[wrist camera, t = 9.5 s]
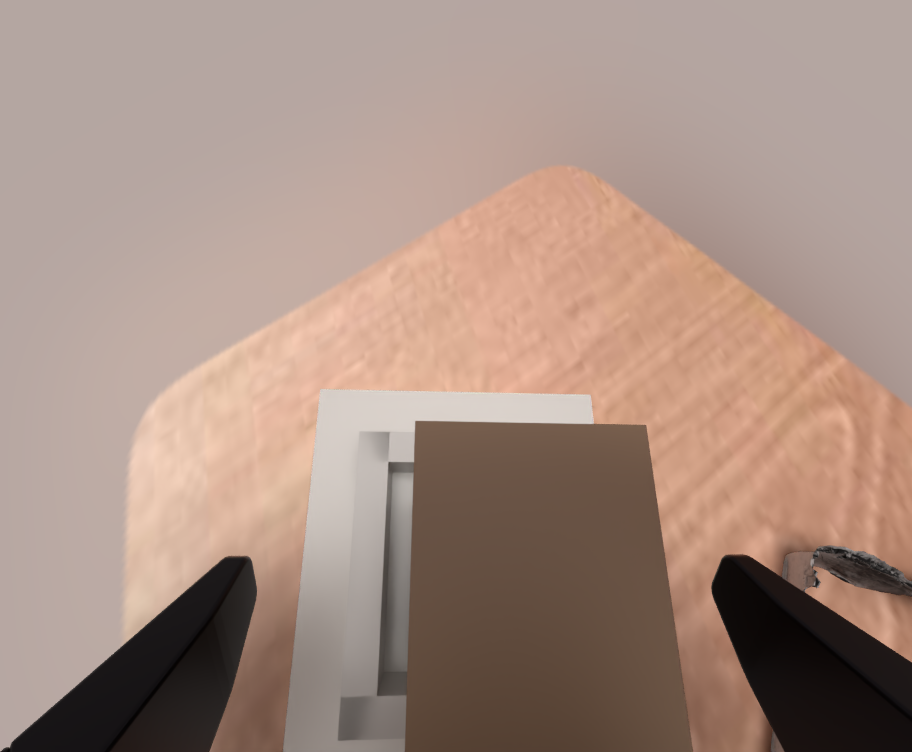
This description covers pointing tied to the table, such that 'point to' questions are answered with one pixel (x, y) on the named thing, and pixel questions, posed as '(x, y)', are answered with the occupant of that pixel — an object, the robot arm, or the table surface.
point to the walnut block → (539, 593)
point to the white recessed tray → (372, 558)
